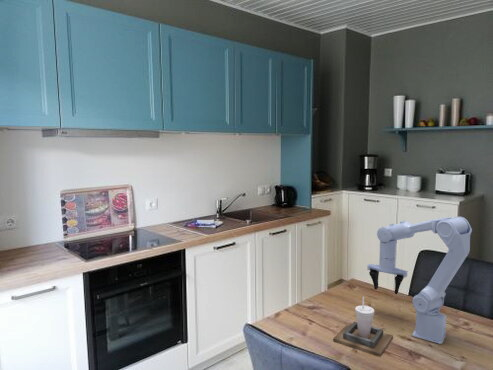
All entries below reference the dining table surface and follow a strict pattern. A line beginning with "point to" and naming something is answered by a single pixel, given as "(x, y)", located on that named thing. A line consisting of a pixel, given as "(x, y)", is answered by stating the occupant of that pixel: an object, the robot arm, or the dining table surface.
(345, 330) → the bottle stand
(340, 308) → the dining table surface
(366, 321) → the smoothie
